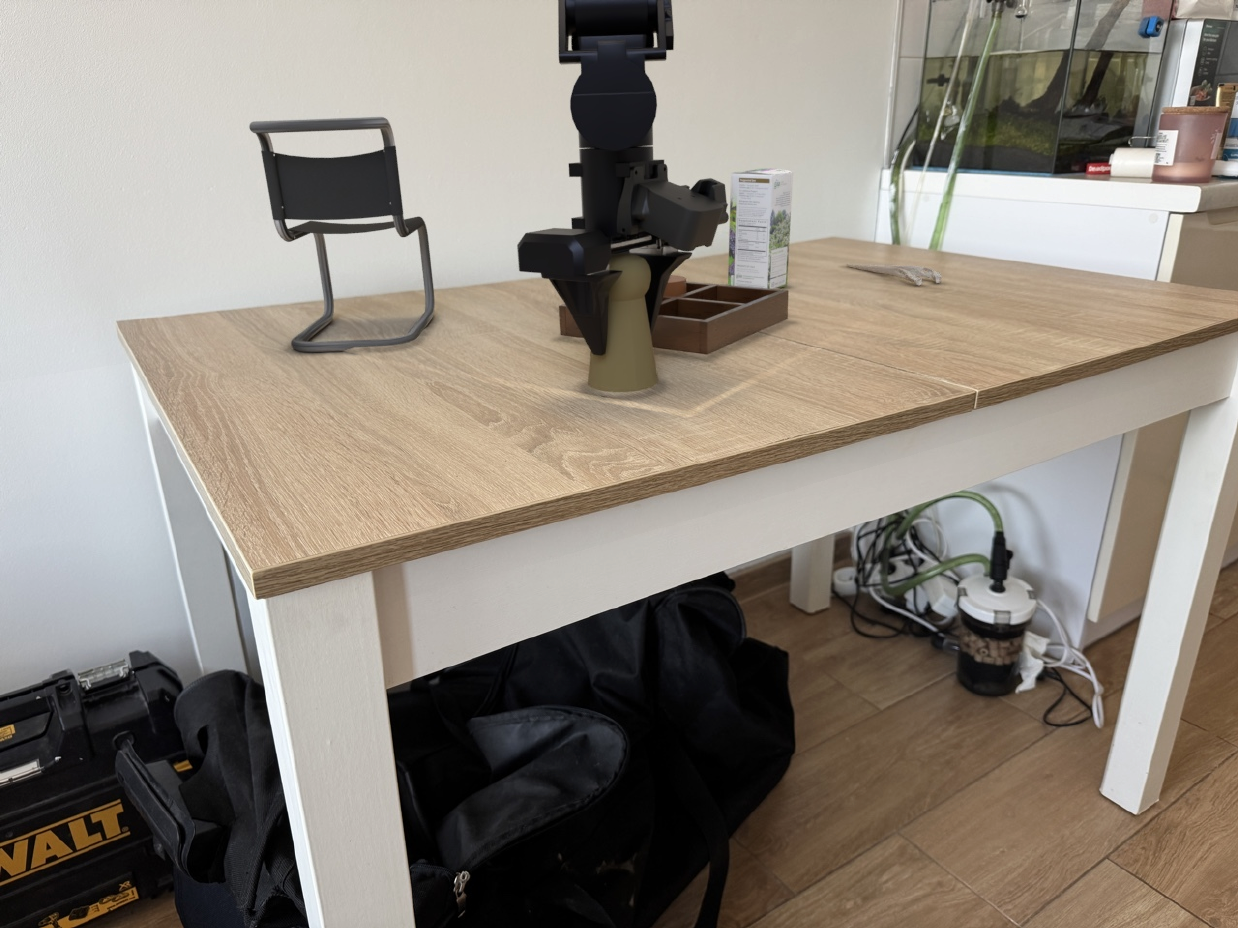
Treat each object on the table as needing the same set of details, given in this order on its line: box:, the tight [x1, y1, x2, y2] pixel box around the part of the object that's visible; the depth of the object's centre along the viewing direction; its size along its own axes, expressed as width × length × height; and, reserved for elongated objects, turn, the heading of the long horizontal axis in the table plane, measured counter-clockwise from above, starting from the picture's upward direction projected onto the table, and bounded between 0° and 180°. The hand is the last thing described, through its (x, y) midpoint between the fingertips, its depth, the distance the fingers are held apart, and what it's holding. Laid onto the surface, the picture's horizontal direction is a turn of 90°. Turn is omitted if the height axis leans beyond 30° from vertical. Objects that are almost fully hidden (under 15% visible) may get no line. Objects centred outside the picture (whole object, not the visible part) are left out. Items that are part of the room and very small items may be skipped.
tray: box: [558, 281, 790, 355], centre depth 95 cm, size 17×17×4 cm
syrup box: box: [727, 167, 794, 289], centre depth 114 cm, size 6×6×14 cm
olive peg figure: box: [587, 253, 659, 398], centre depth 75 cm, size 6×6×11 cm
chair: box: [248, 116, 436, 353], centre depth 96 cm, size 13×17×22 cm
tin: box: [664, 274, 687, 297], centre depth 101 cm, size 5×5×4 cm
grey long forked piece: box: [845, 263, 943, 287], centre depth 123 cm, size 17×5×2 cm, turn 22°
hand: (622, 346), depth 76 cm, fingers closed on olive peg figure, 6 cm apart
